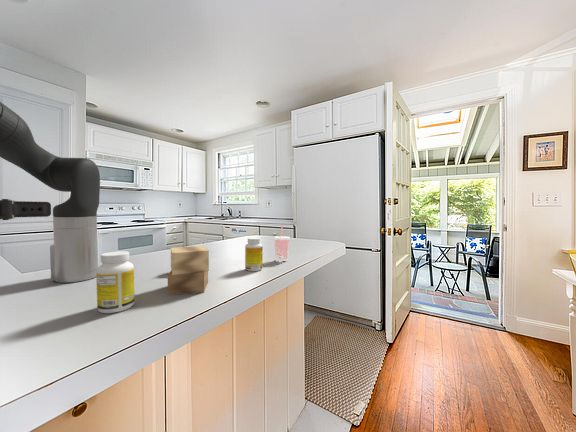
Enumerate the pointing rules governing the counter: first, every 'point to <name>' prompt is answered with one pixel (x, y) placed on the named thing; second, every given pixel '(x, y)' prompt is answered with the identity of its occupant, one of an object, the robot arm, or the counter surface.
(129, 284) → the pill bottle
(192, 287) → the lower block
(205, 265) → the upper block
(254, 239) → the supplement bottle
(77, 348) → the counter surface
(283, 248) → the beverage cup
